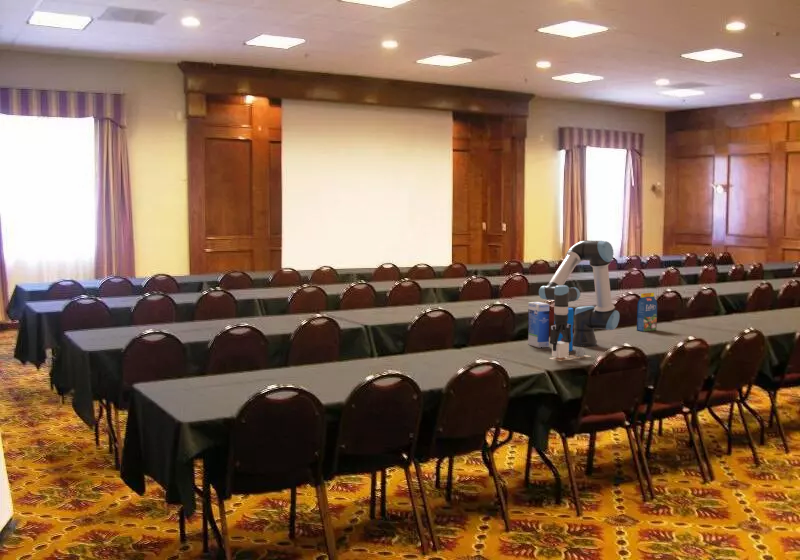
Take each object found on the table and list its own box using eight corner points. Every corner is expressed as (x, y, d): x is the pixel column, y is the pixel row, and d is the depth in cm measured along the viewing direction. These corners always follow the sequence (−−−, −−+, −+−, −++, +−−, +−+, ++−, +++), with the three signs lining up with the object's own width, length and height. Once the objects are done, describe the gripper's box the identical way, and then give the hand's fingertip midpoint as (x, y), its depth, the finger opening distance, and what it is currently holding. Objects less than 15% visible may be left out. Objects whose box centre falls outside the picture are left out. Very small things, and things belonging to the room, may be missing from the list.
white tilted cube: (560, 354, 472) (560, 341, 471) (568, 356, 466) (568, 342, 466) (551, 356, 468) (552, 342, 467) (560, 357, 463) (560, 343, 462)
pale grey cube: (579, 355, 477) (580, 348, 476) (584, 356, 474) (584, 349, 474) (575, 355, 475) (575, 348, 474) (580, 356, 472) (580, 349, 472)
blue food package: (636, 330, 570) (637, 293, 567) (649, 329, 576) (650, 292, 573) (643, 331, 564) (644, 294, 562) (656, 330, 570) (657, 292, 568)
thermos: (572, 353, 487) (573, 309, 485) (553, 352, 489) (554, 309, 487) (572, 350, 498) (573, 307, 495) (554, 349, 500) (554, 306, 497)
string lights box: (549, 347, 507) (550, 304, 505) (538, 348, 505) (538, 304, 502) (538, 343, 520) (538, 301, 517) (527, 344, 517) (527, 301, 515)
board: (579, 355, 481) (579, 353, 481) (591, 357, 474) (591, 356, 474) (548, 360, 468) (548, 358, 468) (560, 362, 461) (560, 360, 460)
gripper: (569, 311, 473) (568, 353, 476) (543, 314, 463) (542, 356, 465) (578, 313, 467) (578, 355, 469) (552, 316, 457) (552, 358, 459)
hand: (560, 355), depth 467 cm, fingers closed on white tilted cube, 6 cm apart
